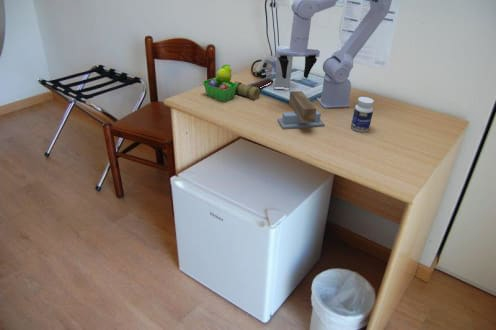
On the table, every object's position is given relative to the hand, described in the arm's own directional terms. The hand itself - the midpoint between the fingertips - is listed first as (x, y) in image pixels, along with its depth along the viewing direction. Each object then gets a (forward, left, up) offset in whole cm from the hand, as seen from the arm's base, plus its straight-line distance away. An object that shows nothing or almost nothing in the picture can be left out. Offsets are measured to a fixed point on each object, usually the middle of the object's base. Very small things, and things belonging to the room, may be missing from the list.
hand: (294, 77), depth 138 cm
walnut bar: (+1, +14, -7) cm, 15 cm away
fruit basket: (+23, -12, -11) cm, 28 cm away
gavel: (+8, -17, -11) cm, 22 cm away
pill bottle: (-17, +20, -11) cm, 28 cm away
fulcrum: (+1, +14, -10) cm, 17 cm away
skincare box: (-2, -18, -11) cm, 21 cm away
